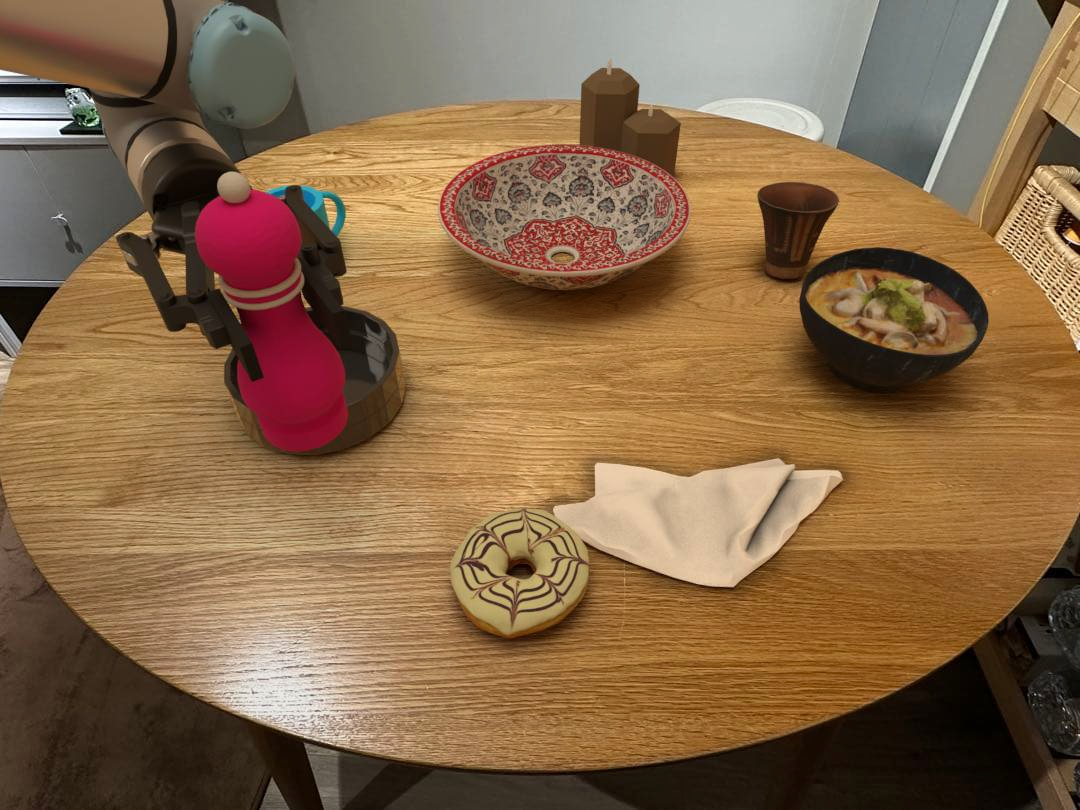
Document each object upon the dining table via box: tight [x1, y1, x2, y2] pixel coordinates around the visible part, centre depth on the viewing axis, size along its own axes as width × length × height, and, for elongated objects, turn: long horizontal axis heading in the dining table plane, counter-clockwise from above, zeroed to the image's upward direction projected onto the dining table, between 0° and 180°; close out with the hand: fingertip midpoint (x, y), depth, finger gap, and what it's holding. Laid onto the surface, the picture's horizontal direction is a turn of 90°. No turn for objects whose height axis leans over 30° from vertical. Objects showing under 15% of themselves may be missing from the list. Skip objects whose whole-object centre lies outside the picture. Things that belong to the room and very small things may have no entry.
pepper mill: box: [195, 172, 348, 452], centre depth 51 cm, size 7×7×20 cm
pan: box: [223, 305, 407, 456], centre depth 75 cm, size 16×16×6 cm
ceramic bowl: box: [437, 144, 692, 291], centre depth 92 cm, size 29×29×8 cm
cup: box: [756, 181, 840, 280], centre depth 90 cm, size 9×9×10 cm
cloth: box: [552, 457, 844, 588], centre depth 65 cm, size 26×14×2 cm, turn 91°
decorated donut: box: [449, 507, 590, 639], centre depth 60 cm, size 10×11×4 cm
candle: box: [578, 57, 682, 178], centre depth 105 cm, size 14×14×15 cm
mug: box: [264, 185, 347, 237], centre depth 93 cm, size 12×8×8 cm
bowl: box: [798, 246, 990, 393], centre depth 77 cm, size 17×17×10 cm
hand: (298, 345), depth 47 cm, fingers closed on pepper mill, 5 cm apart
